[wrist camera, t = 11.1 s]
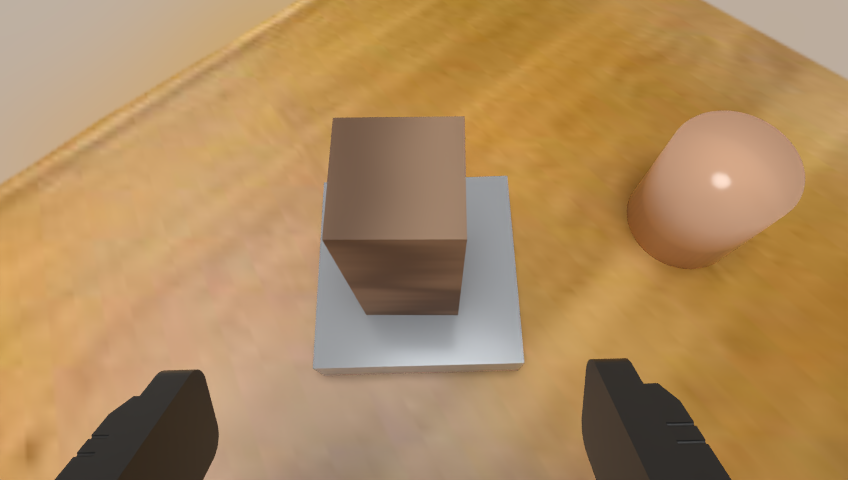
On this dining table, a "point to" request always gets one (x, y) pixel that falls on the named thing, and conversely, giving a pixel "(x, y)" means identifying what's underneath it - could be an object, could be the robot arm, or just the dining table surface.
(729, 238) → the pink smooth domed block
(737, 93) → the dining table surface
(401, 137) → the walnut block
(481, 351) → the plinth
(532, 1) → the dining table surface
